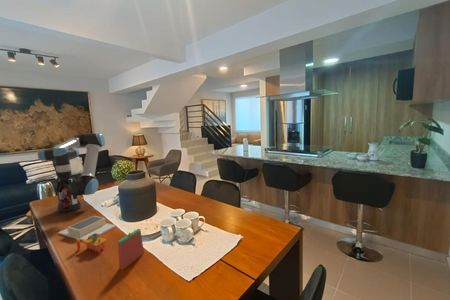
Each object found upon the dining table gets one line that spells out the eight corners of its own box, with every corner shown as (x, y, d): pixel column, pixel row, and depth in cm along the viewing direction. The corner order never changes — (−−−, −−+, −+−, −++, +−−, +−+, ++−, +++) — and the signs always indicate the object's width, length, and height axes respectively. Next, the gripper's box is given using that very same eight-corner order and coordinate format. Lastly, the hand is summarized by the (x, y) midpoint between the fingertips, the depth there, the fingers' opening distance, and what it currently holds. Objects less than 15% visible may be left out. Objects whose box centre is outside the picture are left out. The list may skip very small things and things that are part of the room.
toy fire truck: (66, 208, 134) (64, 192, 133) (59, 204, 141) (56, 189, 140) (79, 204, 140) (76, 189, 139) (71, 201, 147) (68, 186, 145)
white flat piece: (88, 220, 142) (87, 213, 142) (115, 226, 132) (115, 218, 131) (58, 233, 126) (57, 225, 125) (87, 242, 116) (86, 233, 115)
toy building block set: (122, 270, 93) (119, 240, 91) (73, 252, 107) (69, 226, 105) (144, 253, 104) (141, 226, 102) (96, 239, 118) (93, 215, 116)
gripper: (46, 171, 139) (51, 202, 142) (69, 173, 129) (74, 207, 132) (58, 168, 145) (63, 198, 149) (81, 170, 136) (86, 202, 139)
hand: (68, 202), depth 140 cm, fingers closed on toy fire truck, 12 cm apart
